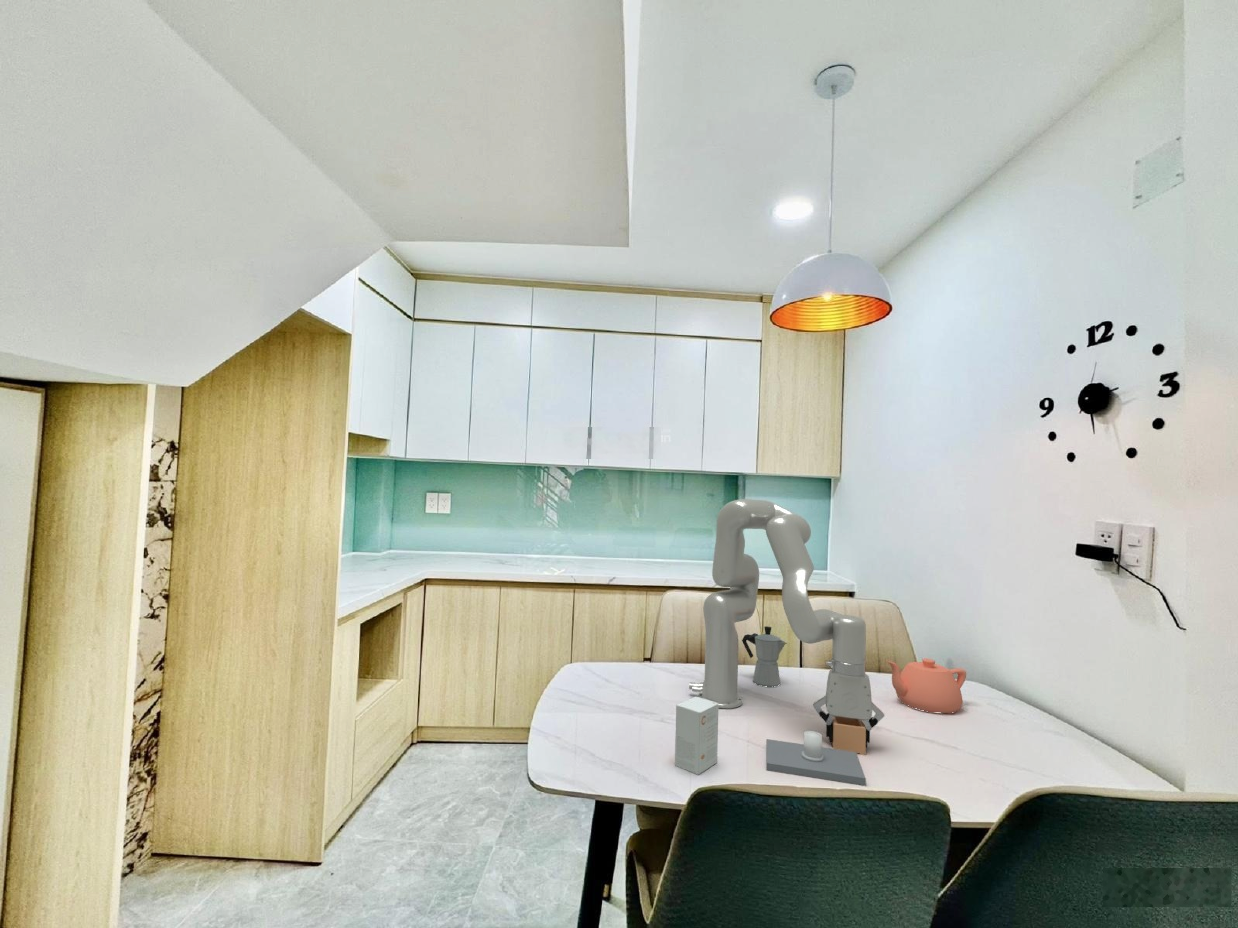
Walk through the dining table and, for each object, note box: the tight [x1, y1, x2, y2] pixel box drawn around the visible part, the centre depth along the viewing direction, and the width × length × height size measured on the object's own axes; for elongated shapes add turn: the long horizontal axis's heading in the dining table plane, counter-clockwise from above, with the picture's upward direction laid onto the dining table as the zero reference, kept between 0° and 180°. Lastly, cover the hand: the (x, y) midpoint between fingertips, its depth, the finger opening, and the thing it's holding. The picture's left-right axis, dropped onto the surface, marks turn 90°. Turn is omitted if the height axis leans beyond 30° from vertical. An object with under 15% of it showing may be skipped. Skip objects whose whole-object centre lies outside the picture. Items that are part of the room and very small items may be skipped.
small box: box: [674, 696, 720, 775], centre depth 124 cm, size 8×6×13 cm
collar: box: [831, 717, 867, 756], centre depth 136 cm, size 7×7×6 cm
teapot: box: [886, 658, 967, 714], centre depth 168 cm, size 25×17×13 cm
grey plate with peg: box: [765, 730, 867, 787], centre depth 126 cm, size 20×13×6 cm, turn 75°
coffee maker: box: [741, 626, 788, 688], centre depth 183 cm, size 15×9×18 cm, turn 58°
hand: (847, 742), depth 136 cm, fingers closed on collar, 7 cm apart
